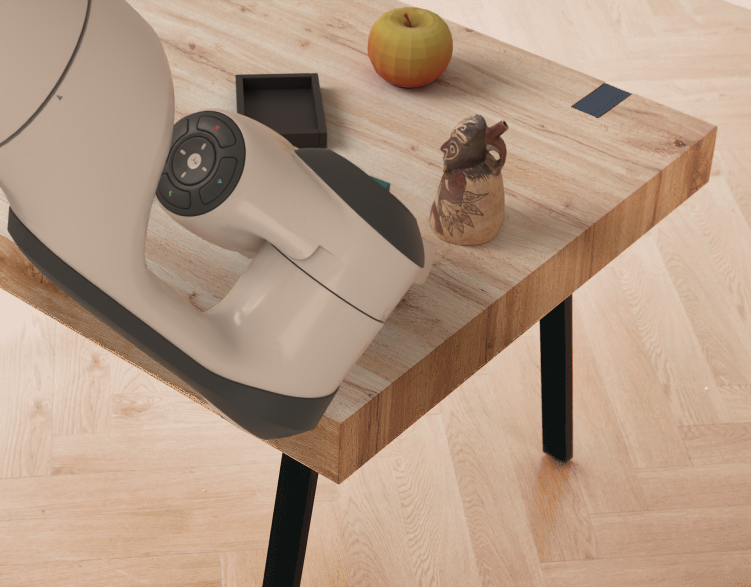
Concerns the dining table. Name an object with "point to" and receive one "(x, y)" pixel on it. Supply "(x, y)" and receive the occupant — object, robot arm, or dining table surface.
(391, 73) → the apple
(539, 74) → the dining table surface
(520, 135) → the dining table surface
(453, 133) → the figurine
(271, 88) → the tray
